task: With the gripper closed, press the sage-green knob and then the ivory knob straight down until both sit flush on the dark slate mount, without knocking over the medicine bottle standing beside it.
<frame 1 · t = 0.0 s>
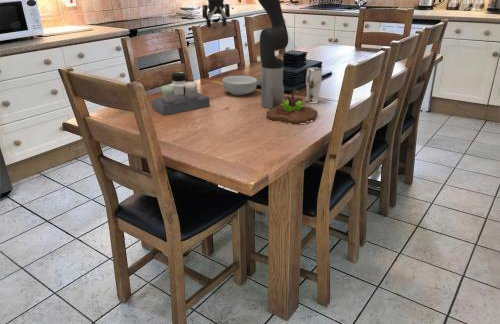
hand: (216, 26, 201), 29 cm above the table, fingers open, 8 cm apart
medicine bottle: (180, 98, 191), on the table
plant: (292, 117, 167), on the table
mount: (181, 107, 178), on the table
cereal bowl: (240, 93, 199), on the table
knob b: (168, 94, 172), point 7 cm above the table, slide at 0.0 cm
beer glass: (312, 102, 186), on the table
knob a: (191, 90, 178), point 7 cm above the table, slide at 0.0 cm
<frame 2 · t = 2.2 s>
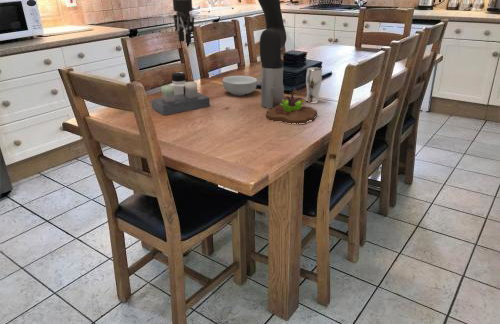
hand: (185, 41, 168), 28 cm above the table, fingers open, 5 cm apart
nothing on the table moved.
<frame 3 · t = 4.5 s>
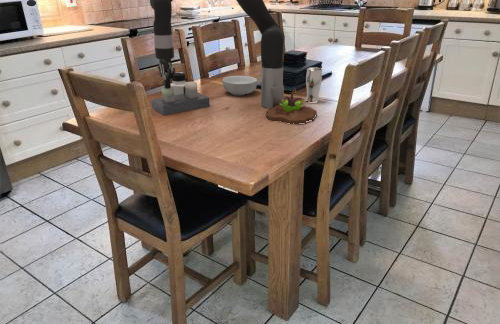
hand: (167, 88, 171), 9 cm above the table, fingers closed
knob b: (168, 96, 173), point 6 cm above the table, slide at 0.6 cm, touching gripper
everything else where it was.
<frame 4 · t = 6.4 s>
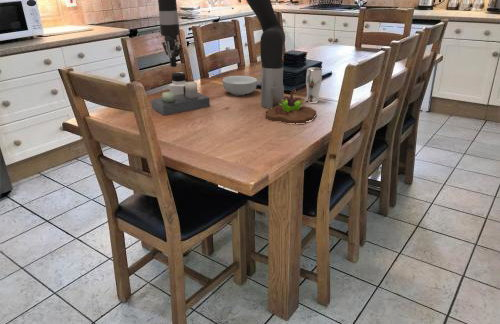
hand: (173, 66, 168), 18 cm above the table, fingers closed
knob b: (168, 101, 173), point 4 cm above the table, slide at 2.8 cm
everything else where it was.
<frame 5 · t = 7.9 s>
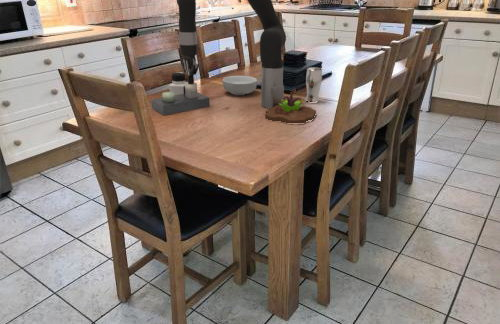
hand: (190, 83, 177), 10 cm above the table, fingers closed
knob a: (191, 91, 178), point 6 cm above the table, slide at 0.3 cm, touching gripper
everything else where it was.
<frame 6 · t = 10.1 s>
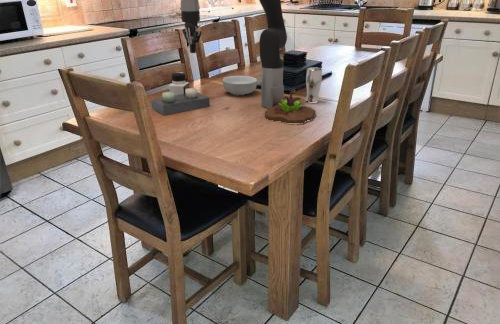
hand: (193, 52, 173), 23 cm above the table, fingers closed
knob a: (191, 97, 179), point 4 cm above the table, slide at 2.9 cm
everything else where it was.
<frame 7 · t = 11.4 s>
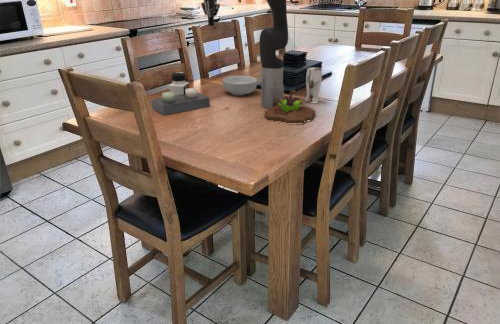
hand: (211, 25, 183), 32 cm above the table, fingers closed
nothing on the table moved.
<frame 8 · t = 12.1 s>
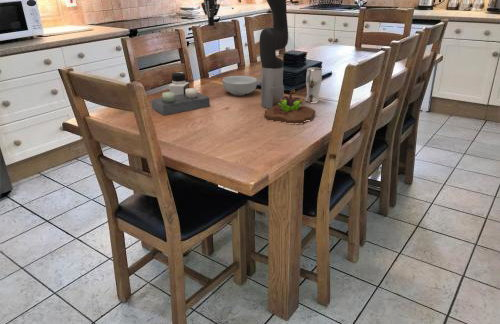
hand: (211, 25, 183), 32 cm above the table, fingers closed
nothing on the table moved.
at the end: knob b slide at 2.8 cm; knob a slide at 2.9 cm; medicine bottle tilted 0° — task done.
